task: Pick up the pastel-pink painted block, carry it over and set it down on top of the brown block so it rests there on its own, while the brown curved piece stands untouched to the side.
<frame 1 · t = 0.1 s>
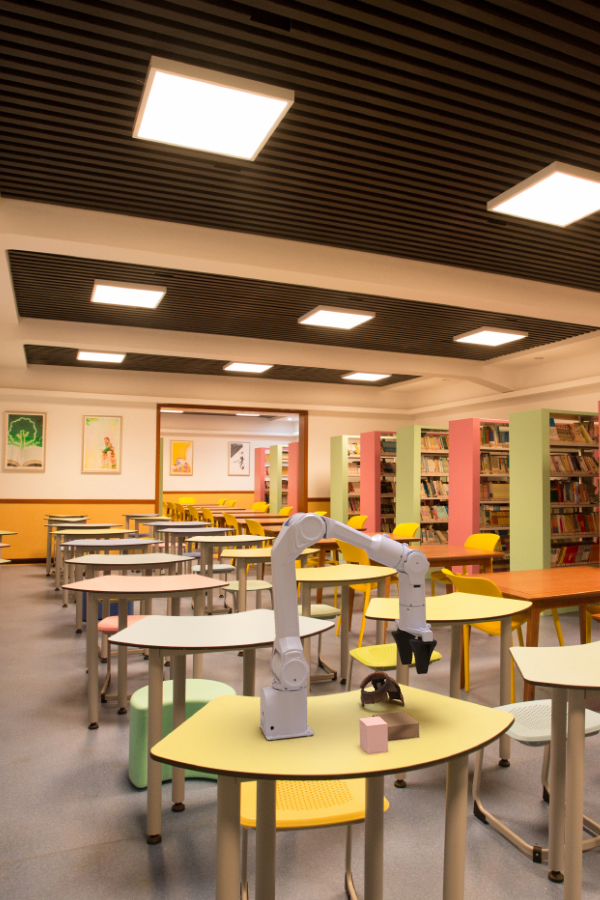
hand: (414, 668, 127), 10 cm above the table, tool pointing down, fingers open, 7 cm apart
brown block: (395, 734, 117), on the table
brown curved piece: (382, 705, 135), on the table
pink block: (373, 748, 110), on the table
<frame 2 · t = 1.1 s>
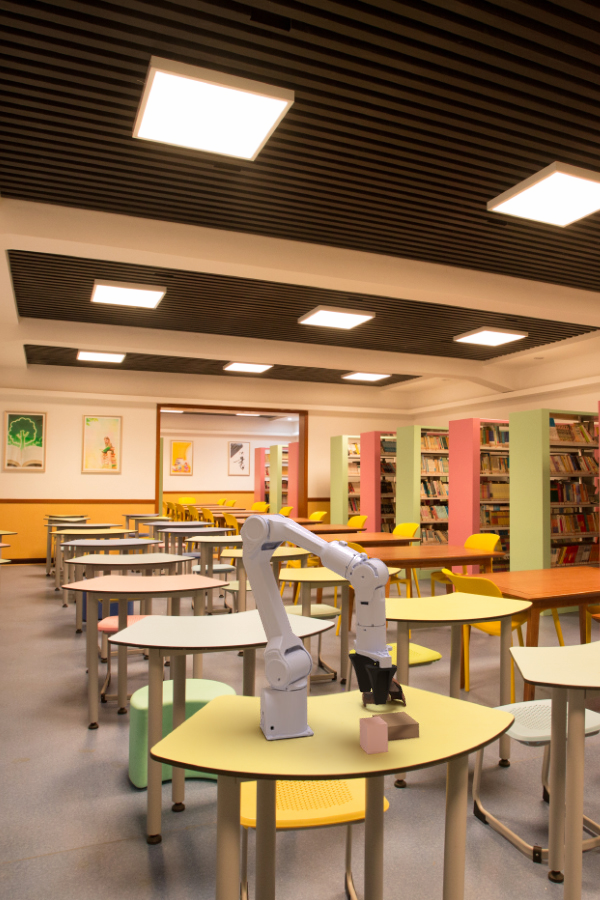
hand: (372, 697, 111), 9 cm above the table, tool pointing down, fingers open, 7 cm apart
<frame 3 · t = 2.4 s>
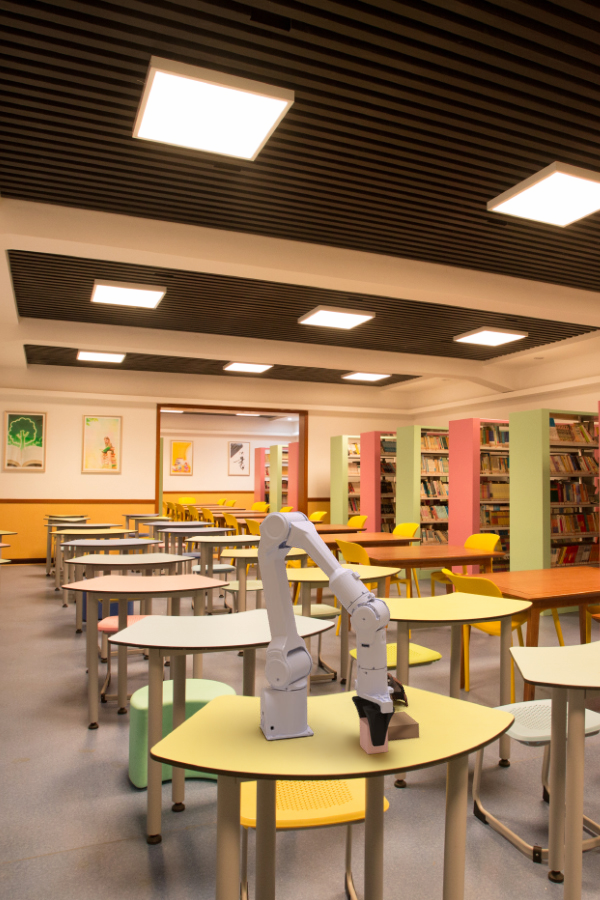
hand: (373, 740, 110), 1 cm above the table, tool pointing down, fingers closed on pink block, 4 cm apart
pink block: (373, 748, 110), on the table, touching gripper
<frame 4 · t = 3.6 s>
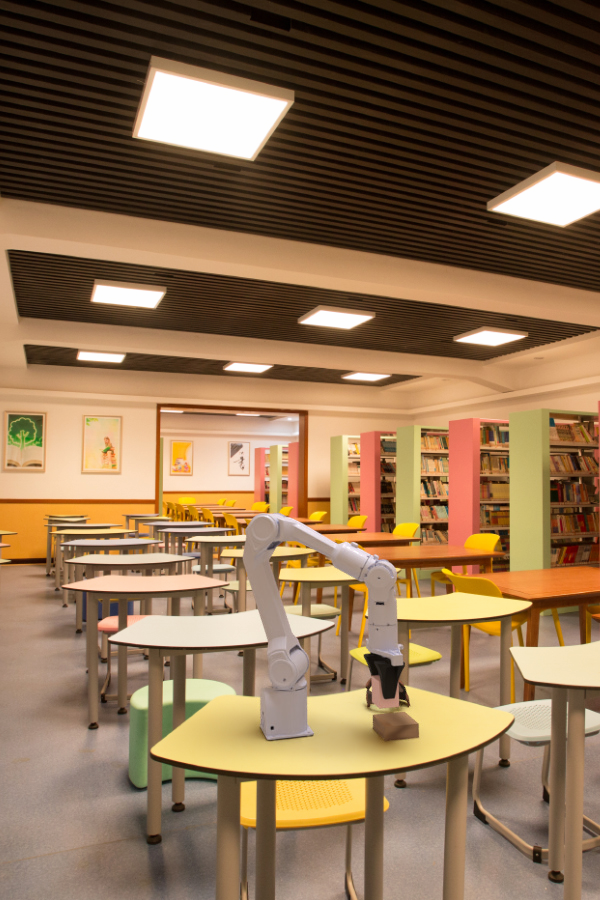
hand: (384, 694, 115), 8 cm above the table, tool pointing down, fingers closed on pink block, 4 cm apart
pink block: (385, 704, 114), point 7 cm above the table, touching gripper
when the fingers open (6 cm above the table, at t = 4.7 s): pink block drops 2 cm, resting on brown block.
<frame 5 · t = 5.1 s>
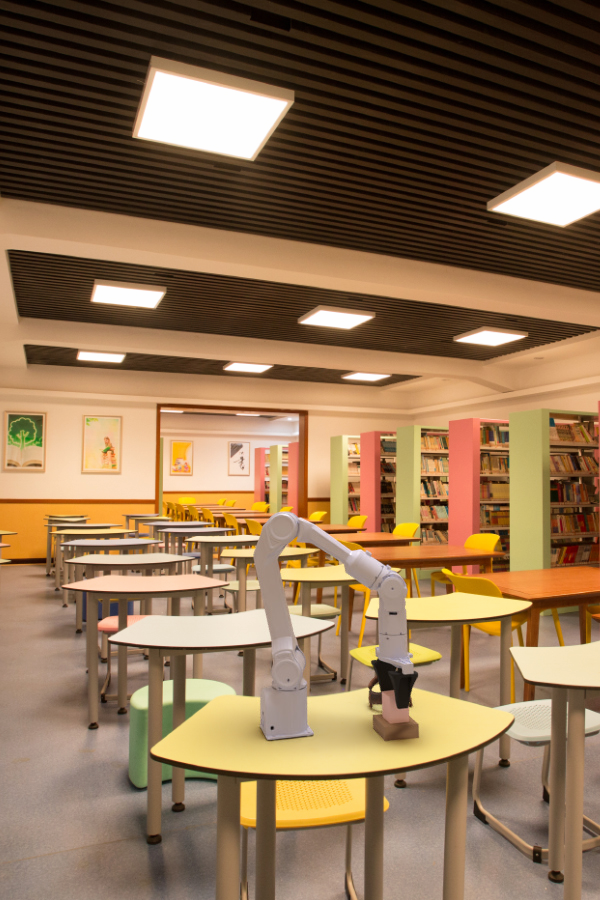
hand: (394, 701, 118), 6 cm above the table, tool pointing down, fingers open, 7 cm apart
brown block: (395, 734, 117), on the table, touching pink block
pink block: (395, 719, 118), point 3 cm above the table, touching brown block
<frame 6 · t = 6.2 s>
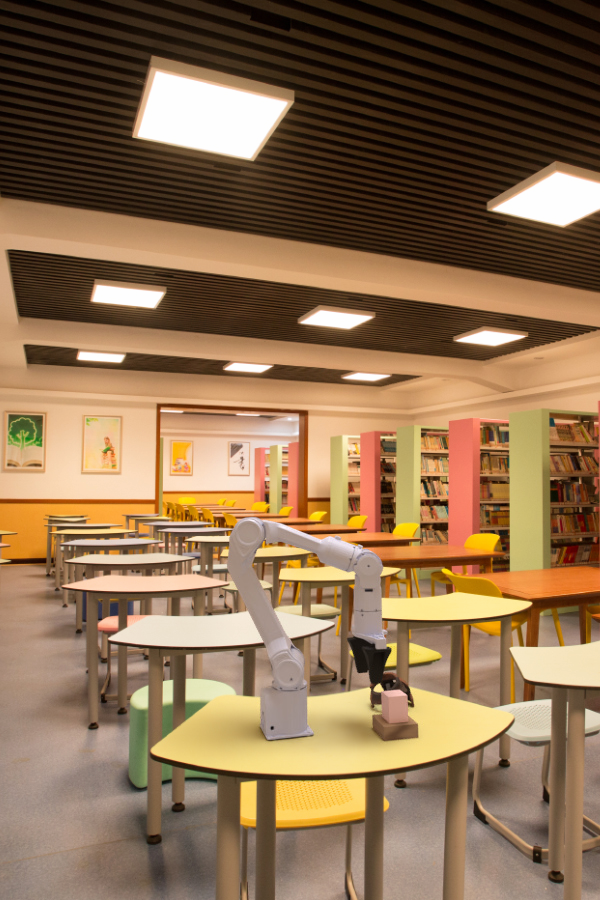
hand: (369, 677, 120), 10 cm above the table, tool pointing down, fingers open, 7 cm apart
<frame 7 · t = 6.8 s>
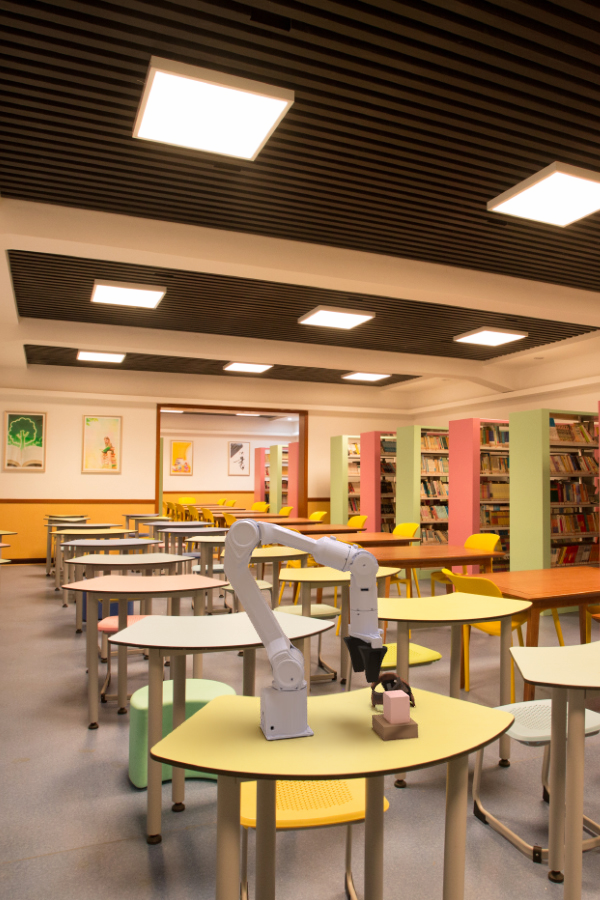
hand: (365, 676, 120), 10 cm above the table, tool pointing down, fingers open, 7 cm apart
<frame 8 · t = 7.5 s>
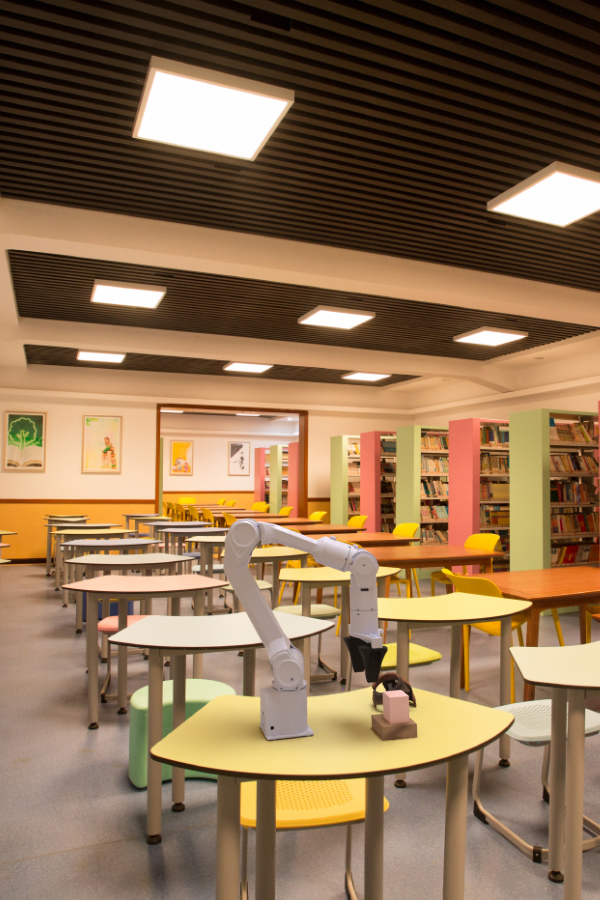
hand: (365, 676, 120), 10 cm above the table, tool pointing down, fingers open, 7 cm apart
brown block: (394, 734, 118), on the table
pink block: (396, 719, 118), point 3 cm above the table
at the end: pink block 0.5 cm off-centre on the brown block, point 3.0 cm above the brown block's base; pink block tilted 1°; the gripper is holding nothing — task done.
